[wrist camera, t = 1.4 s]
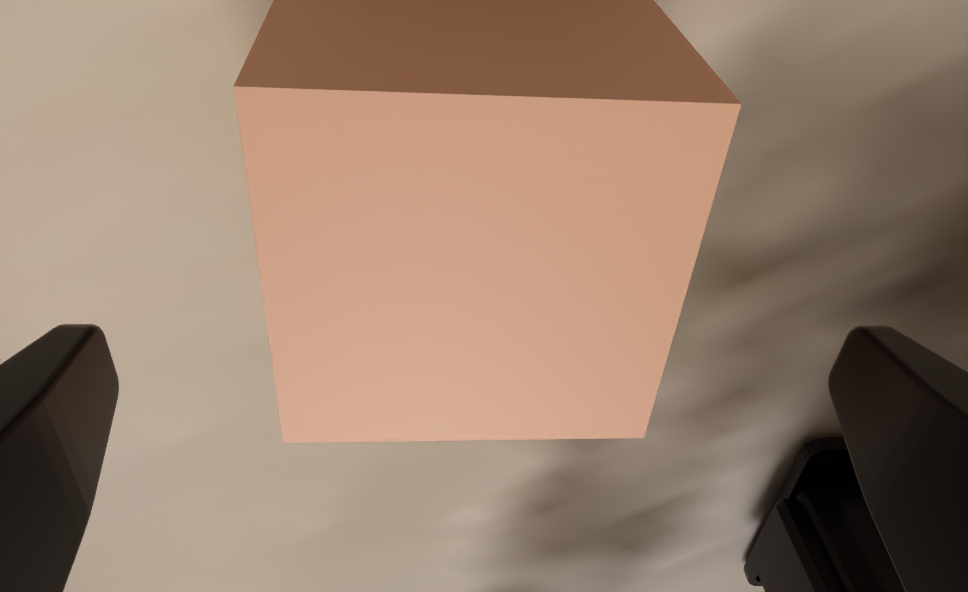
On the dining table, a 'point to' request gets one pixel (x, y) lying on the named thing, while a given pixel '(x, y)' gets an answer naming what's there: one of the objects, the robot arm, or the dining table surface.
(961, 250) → the dining table surface
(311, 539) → the dining table surface
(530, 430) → the terracotta block
